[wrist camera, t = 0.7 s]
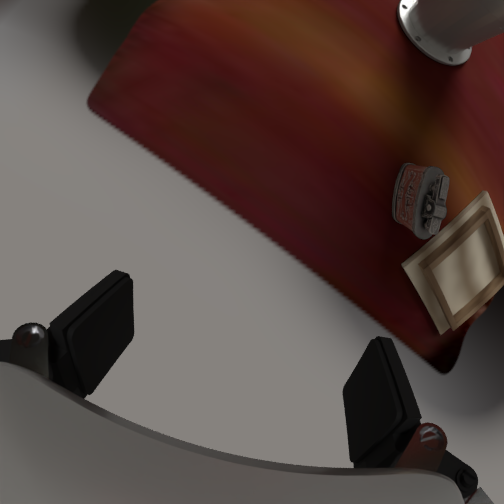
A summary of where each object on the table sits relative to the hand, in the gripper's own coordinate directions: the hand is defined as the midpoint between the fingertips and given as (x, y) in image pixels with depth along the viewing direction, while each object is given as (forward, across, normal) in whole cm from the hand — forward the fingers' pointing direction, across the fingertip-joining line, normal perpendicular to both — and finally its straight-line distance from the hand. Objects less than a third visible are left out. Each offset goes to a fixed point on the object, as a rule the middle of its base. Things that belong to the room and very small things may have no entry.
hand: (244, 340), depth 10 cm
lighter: (+27, -16, -6) cm, 32 cm away
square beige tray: (+27, -30, +1) cm, 40 cm away
